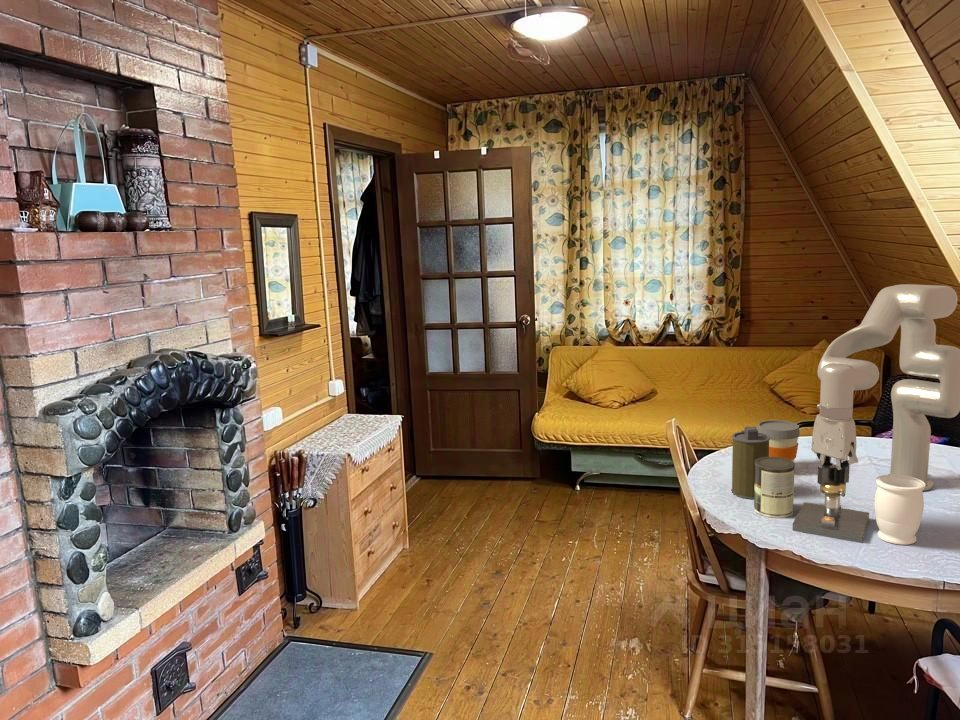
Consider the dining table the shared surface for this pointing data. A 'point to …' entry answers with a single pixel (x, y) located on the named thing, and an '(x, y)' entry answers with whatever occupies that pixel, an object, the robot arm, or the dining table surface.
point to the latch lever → (831, 481)
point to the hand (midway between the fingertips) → (832, 480)
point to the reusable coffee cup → (781, 438)
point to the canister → (747, 460)
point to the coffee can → (774, 487)
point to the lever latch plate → (831, 520)
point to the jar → (898, 508)
